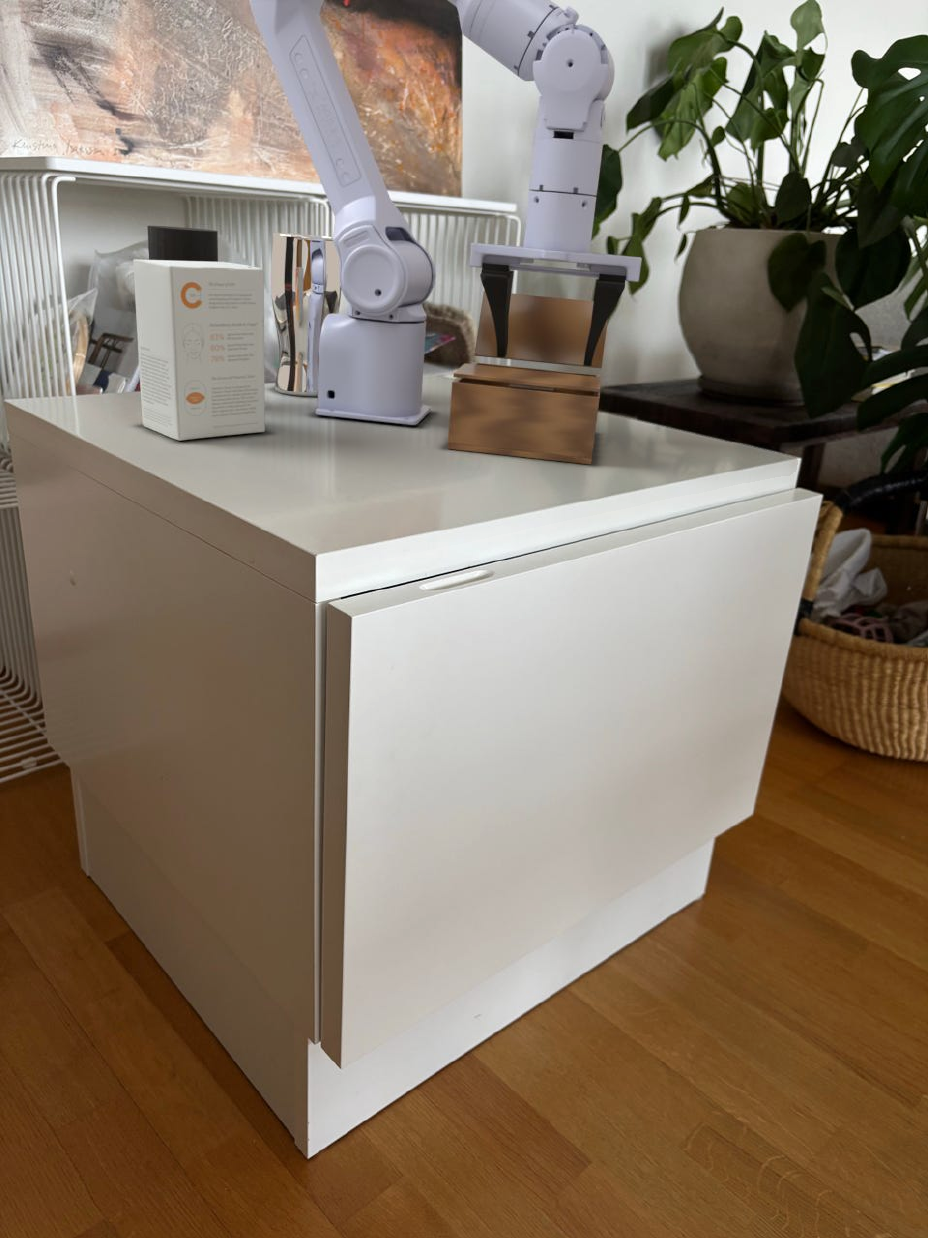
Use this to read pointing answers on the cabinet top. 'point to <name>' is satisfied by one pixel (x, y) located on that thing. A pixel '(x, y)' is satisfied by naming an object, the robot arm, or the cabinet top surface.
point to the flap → (542, 331)
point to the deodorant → (182, 244)
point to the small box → (200, 347)
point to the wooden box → (524, 412)
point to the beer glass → (302, 305)
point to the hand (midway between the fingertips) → (544, 360)
